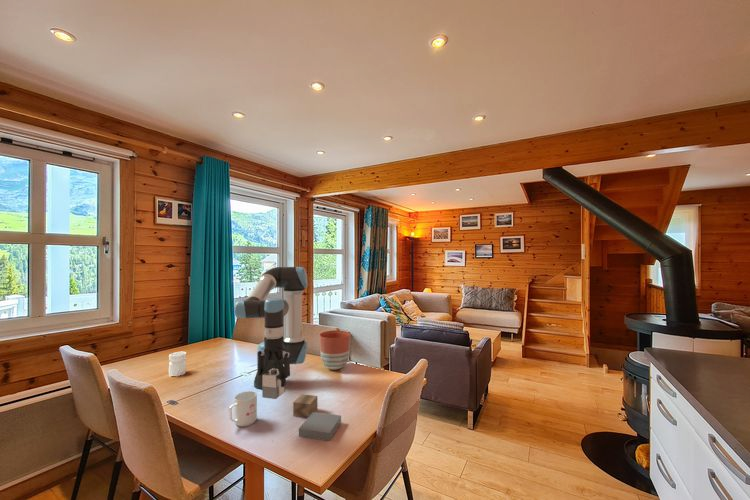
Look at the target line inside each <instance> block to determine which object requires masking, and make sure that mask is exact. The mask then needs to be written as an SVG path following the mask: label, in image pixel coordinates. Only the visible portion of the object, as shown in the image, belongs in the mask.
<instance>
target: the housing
mask: <svg viewBox="0 0 750 500" xmlns="http://www.w3.org/2000/svg"><path fill="white" fill-rule="evenodd" d="M279 379H280V375H279V371H278V369H273V368H272V369H271V370H269V371H268V372H266V373H265V374H263V380H262V389H261V390H262V393H261V394H262V395H261V397H262V398H264V399H272V400H276V399H278V398H279V397H280V396H279ZM285 392H286V385H285V386H284V393H285Z"/></svg>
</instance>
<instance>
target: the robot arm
mask: <svg viewBox="0 0 750 500" xmlns="http://www.w3.org/2000/svg"><path fill="white" fill-rule="evenodd" d="M308 280H309V279H308V273H307V271H306V268H305V267H303V266H277V267H273V268H270V269H268V270H266V271H264V272H263V273H261V275H260V276H259V278H258V279H257V284H256V285H255V286H254V288H253V289H252V291H251V292H250V293H249V295H248V296H247V297H246V299H245V300H238V301H237V302H236V303H235V306H234V316H235V317H236V318H238V319H264V331H263V332H264V334H263V335H264V341H263V342H261V343H259V344H258V345H257V352H256V355H257V362H256V363H257V371H256V374H255V377H254V380H253V387H254V388H256V389H258V390H262V380H263V374H265V373H266V372H268V371H269V370H271V369H272V368H273V369H278V371H279V375H280V379H279V397H281V396H282V395H283V394H284V393H285V392H284V386H285V387H286V383H287V382H286V381H287V380H286V379H288V378H289V377H290V376H291V365H301V364H304V362H305V360H306V357H307V351H308V342H307V341H305V339H306V338H305V337H304V336H303V335H302V333H303V293H304V292H305V289H307V288H308V285H309V284H308V283H309V282H308ZM276 288H277V289H278V288H281V289H282V288H283V292H284V293H285V295H286V297H285V299H284V298H279V297H275V298H268V296H269V294H270V293H271V291H272V290H274V289H276ZM284 317H286V319H284ZM284 320H285V322H286V324H285V323H284ZM284 324H285V326H284ZM284 327H285V328H286V329H285V328H284ZM284 329H285V333H284ZM284 335H285V337H284Z"/></svg>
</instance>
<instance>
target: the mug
mask: <svg viewBox="0 0 750 500" xmlns="http://www.w3.org/2000/svg"><path fill="white" fill-rule="evenodd" d="M233 408H234V410H233ZM232 410H233V411H234V417H233V413H232V412H233V411H232ZM257 416H258V393H257V392H256V391H253V390H252V391H251V390H247V391H242V392H239V393H238V394H236V395H235V396H234V403H232V404H231V405H230V406H228V419H229V420H230V421H232V422H234V424H235V425H236V426H238V427H240V428H241V427H243V428H244V427H248V426H251V425H252V424H254V423H255V422H256V421H257V419H258V417H257ZM233 418H234V419H233Z"/></svg>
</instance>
